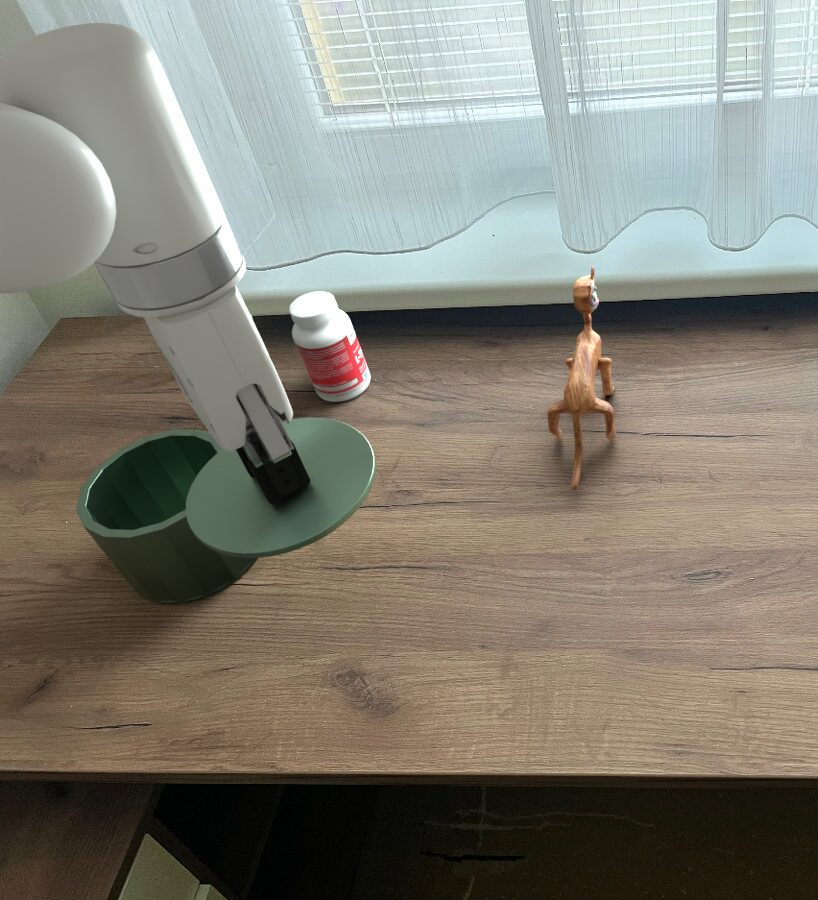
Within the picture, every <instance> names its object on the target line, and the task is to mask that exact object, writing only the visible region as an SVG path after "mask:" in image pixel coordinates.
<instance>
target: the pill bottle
mask: <svg viewBox="0 0 818 900" xmlns="http://www.w3.org/2000/svg"><path fill="white" fill-rule="evenodd" d="M288 311H289V312H288V313H289V315H290V317H291V320H292V322H293V323H294V324H293V326H292V328H291V329H292V330H291V335H292V336H291V337H292V339H293V342H294V344H295V347H296V349H297V351H298V353H299V356H300V358H301V360H302V362H303V366H304V367H305V370H306V372H307V374H308V376H309V378H310V381H311V384H312V386H313V388H314V390H315V392H316V394H317V396H318V397H320V398H321V399H322V400H324V401H327V402H332V403H338V402H339V403H340V402H346V401H349V400H352V399H354V398H357V397H358V396H359V395H361V394H362V393H364V391H366V390H367V388H368V387H369V385H370V383H371V373H370V369H369V367H368V364H367V361H366V358H365V355H364V353H363V351H362V348H361V345H360V342H359V339H358V337H357V334H356V331H355V329H354V326H353V324H352V323H353V322H352V321H351V319H350V317H349V315H348V314H347V313H346V312H345V311H343V310H342V309H339V306H338V303H337V301H336V299H335V296H334V295H333V294H332V293H331V292H328V291H323V290H317V291H309V292H307V293H304V294H302V295H300V296H298V297H296V298H294V300H293V301H292V302H291V303H290V305H289V307H288Z"/></svg>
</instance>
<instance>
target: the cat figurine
mask: <svg viewBox="0 0 818 900" xmlns="http://www.w3.org/2000/svg"><path fill="white" fill-rule="evenodd" d="M597 289H598V288H597V286H596V285H595V267H594V266H591V269H590V275H584V276H581V277H579V278H577V279H576V280H575V281H574V283H573V291H572V299H573V304H574V308H575V310H577V312H578V313H580V314H582V318H583V321H584V327H583V330H582V331H581V332H580V333H579V334H578V336H577V337H576V339H575V349H574V352H573V357H569V358H566V359H565V360H564V364H565V365H566V367H567V369H568V370H569V373H568V378H567V381H566V383H565V386H564V390H563V399H562V400H558V401H556V402H554V403H553V404H552V405H551V406H550V407H549V408H548V409H547V413H546V415H547V416H546V418H547V425H548V430H549V433H550V434H552V435H553V436H554V437H555V438H556V439H557V440H558V441H561V439H562V435H563V431H562V429H561V428H559V424H560V420H561V415H562V414H568V415H571V418H572V427H573V435H574V461H573V469H572V475H571V480H570V481H571V482H570V489H571V491H576V490H577V489H578V487H579V484H580V477H581V473H582V466H583V451H584V450H583V443H584V441H583V428H582V427H583V426H582V420H581V418H582V416H586V415H597V414H601V415H603V417H604V423H605V436H606V438H607V440H609V441H612V440H613V439H614V438H616V436H617V430H616V428H615V417H616V413H615V409H614V407H613V406H612V405H611V404H610V403H609V402H608V401H606V400H604V399H601V398H599V397H597V396H596V395H595V394H596V392H595V382H596V375H597V373H598V371H599V372H600V377H601V379H600V380H601V386H602V393H603V394H604V396H611V395H613V394H614V392H615V389H616V388H615V386H614V385H613V382H612V381H613V380H612V368H611V365H612V363H613V361H612V359H611V358H608V357H602V352H601V351H602V338H601V336H600V335H599V334H598V333H597V332H595V331H594V330H593V327H592V315H591V314H592V313H594V311H596V310H597V308H598V307H599V306H598V305H599V302H600V300H599V298H598V294H597V292H596V291H597Z"/></svg>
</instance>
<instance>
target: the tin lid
mask: <svg viewBox="0 0 818 900" xmlns="http://www.w3.org/2000/svg"><path fill="white" fill-rule="evenodd" d="M281 422H282V420H281ZM282 424H283V426H284V428H285V430H286V432H287V434H288V436H289V438H290V439H291V441H292V442H293V443H294V445H295V447H296V450H297V452H298V454H299V456H300V458H301V460H302V463H303V465H304V467H305V469H306V471H307V474H308V476H309V478H310V484H309V485H308V486H306V487H304V488H302V489H300V490H298V491H297V492H295V493H293V494H291V495H289V496H287V497H285V498H284V499H282V500H280V501H278V502H276V503H274V504H271V503H269V502H268V500H267V499H266V497H265V495H264V494H263V492H262V490H261V488H260V486H259V484H258V482H257V480H256V478H252V477H251V476H250V475H249V474H248V472H247V470H246V468H245V466H244V464H243V462H242V461H241V459H240V457H239V455H238V453H237V451H234V452H229V451H226V450H223V449H222V450H221V451H220V452H218V453H217V454H216V455H215V456H214V457H213V458H212V459H211V460H210V461H208V463H207V464H206V465H205V466H204V467H203V468H202V469H201V471H200V472H199V474H198V475H197V476H196V478H195V480H194V482H193V483H192V485H191V487H190V490H189V493H188V496H187V501H186V517H187V521H188V524H189V526H190V528H191V530H192V531H193V533H194V534H195V536H196V537H197V538H198V540H199V541H201V542H202V543H203V544H204V545H205V546H207V547H208V548H210V549H212V550H214V551H216V552H219V553H221V554H224V555H228V556H233V557H241V558H258V559H260V558H271V557H274V556H280V555H284V554H288V553H291V552H294V551H298V550H300V549H302V548H305V547H307V546H310V545H312V544H314V543H316V542H318V541H320V540H322V539H324V538H325V537H327V536H328V535H330V534H332V533H333V532H335V531H336V530H337V529H339V528H340V527H341V526H343V525H344V524H345V523H346V522H347V521H349V519H350V518H352V517H353V515H354V514H355V513H356V512H358V510H359V509H360V508H361V506H362V505H363V503H364V502H365V501H366V499H367V498H368V496H369V494H370V492H371V490H372V488H373V485H374V482H375V479H376V473H377V461H376V456H375V453H374V450H373V448H372V446H371V444H370V442H369V440H368V438H366V436H365V435H364V434H363V433H362V432H361V431H360V430H358V429H356V428H355V427H353V426H352V425H350V424H348V423H345V422H342V421H339V420H336V419H330V418H325V417H324V418H323V417H300V418H292V420H291V422H290V423H289V424H288V423H287V422H284V423H283V422H282ZM251 440H252V442H253V444H254V446H255V444H256V443H258V442H261V441H260V439H259V437H258V436H257V435H255V436H253V437H251ZM242 447H243V449H244V451H245V453H246V455H247V457H248V458H249V460H251V459H250V457H249V455H248V454H247V452H246V450H245V448H244V446H242Z"/></svg>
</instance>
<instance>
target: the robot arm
mask: <svg viewBox="0 0 818 900" xmlns="http://www.w3.org/2000/svg"><path fill="white" fill-rule="evenodd" d="M233 231H234V230H233V229H232V226H231V223H230V222H229V220H228V217H227V215H226V213H225V210H224V208H223V205H222V203H221V201H220V198H219V196H218V193H217V192H216V188H215V187H214V184H213V182H212V179H211V178H210V174H209V173H208V170H207V168H206V165H205V162H204V160H203V158H202V155H201V154H200V151H199V149H198V146H197V145H196V143H195V139H194V137H193V136H192V133H191V131H190V128H189V125H188V123H187V122H186V119H185V117H184V114H183V112H182V110H181V107H180V105H179V103H178V100H177V98H176V95H175V94H174V91H173V89H172V87H171V84H170V82H169V79H168V77H167V75H166V72H165V69H164V68H163V65H162V63H161V61H160V60H159V57H158V55H157V53H156V51H155V49H154V47H153V46H152V45H151V43H150V42H149V41H148V40H147V39H146V38H145V37H144V36H143V35H141V34H140V32H138V31H136V30H135V29H132V28H130V27H128V26H125V25H123V24H117V23H108V22H91V23H81V24H74V25H68V26H64V27H59V28H55V29H51V30H49V31H45V32H42V33H38V34H36V35H34V36H31V37H29V38H27V39H24V40H22V41H20V42H19V43H17V44H15V45H14V46H12V47H11V48H9V49H8V50H6V51H5V52H4V53H2V54H1V55H0V294H16V293H26V292H32V291H38V290H42V289H47V288H50V287H54V286H57V285H60V284H62V283H64V282H67V281H68V280H69V281H70V280H71V279H74V278H75V277H77V276H78V275H80V274H81V273H83V272H84V271H86V270H87V269H89V268H90V267H91V266H92V265H93V264H94V266H95V269H97V272H98V273H99V275H100V277H101V279H102V280H103V282H104V283H105V285H106V287H107V289H108V291H109V292H110V294H111V296H112V298H113V299H114V301H115V303H116V305H117V306H118V309H120V310H121V311H122V312H124V313H125V314H127V315H130V316H133V317H136V318H143V319H144V321H145V324H146V325H147V328H148V329H149V332H150V333H151V335H152V337H153V339H154V341H155V343H156V345H157V346H158V349H159V350H160V352H161V354H162V356H163V358H164V360H165V362H166V363H167V366H168V368H169V369H170V371H171V372H172V374H173V377H174V378H175V381H176V383H177V385H178V387H179V389H180V391H181V392H182V394H183V396H184V398H185V400H186V401H187V402H188V404H189V405H190V407H191V408H192V410H193V411H194V413H195V414H196V416H197V417H198V418H199V420H200V421H201V423H202V424H203V426H204V427H205V429H206V430H207V431H208V433H209V434H211V435H212V437H213V438H214V440H215V441H216V442H217V444H218V445H219V446H220V447H221V448H222V449H223V450H226V451H229V452H234V451H237V453H238V455H239V457H240V459H241V461H242V462H243V464H244V466H245V468H246V470H247V472H248V474H249V475H250V476H251V477H252V478H256V480H257V482H258V484H259V486H260V488H261V490H262V492H263V494H264V495H265V497H266V499H267V500H268V502H269V503H271V504H274V503H276V502H278V501H280V500H282V499H284V498H285V497H287V496H289V495H291V494H293V493H295V492H297V491H298V490H300V489H302V488H304V487H306V486H308V485H309V484H310V478H309V476H308V474H307V471H306V469H305V467H304V465H303V463H302V460H301V458H300V456H299V454H298V452H297V450H296V447H295V445H294V443H293V442H292V441H291V439H290V438H289V436H288V434H287V432H286V430H285V428H284V426H283V424H282V422H283V423H284V422H287V423H288V424H289V423H290V422H291V420H292V419H293V416H294V411H293V408H292V405H291V403H290V400H289V398H288V394H287V392H286V390H285V388H284V385H283V383H282V381H281V378H280V376H279V374H278V371H277V369H276V367H275V365H274V361H273V360H272V358H271V356H270V354H269V351H268V350H267V347H266V345H265V342H264V341H263V338H262V337H261V334H260V332H259V330H258V328H257V326H256V323H255V322H254V319H253V316H252V314H251V313H250V311H249V309H248V307H247V305H246V303H245V301H244V299H243V297H242V294H241V293H240V290H239V288H238V287H237V285H238V284H240V282H241V281H242V279H243V278H244V276H245V274H246V271H247V261H246V259H245V256H244V254H243V252H242V250H241V247H240V245H239V243H238V240H237V239H236V238H237V237H236V236H235V234H234V232H233ZM281 421H282V422H281ZM255 435H257V436H258V437H259V439H260V441H261V442H258V443H256V444H255V446H254V444H253V442H252V440H251V437H253V436H255ZM242 446H244V448H245V450H246V452H247V454H248V455H249V457H250V459H251V460H249V458H248V457H247V455H246V453H245V451H244V449H243V447H242Z"/></svg>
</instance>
